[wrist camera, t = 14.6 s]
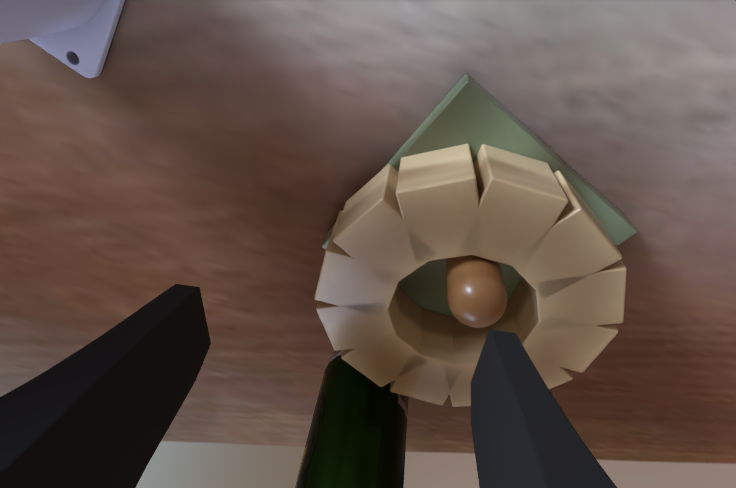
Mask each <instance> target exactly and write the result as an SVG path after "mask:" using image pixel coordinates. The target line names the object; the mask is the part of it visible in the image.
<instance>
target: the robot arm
mask: <svg viewBox="0 0 736 488" xmlns="http://www.w3.org/2000/svg"><path fill="white" fill-rule="evenodd" d="M124 2H125V0H0V44H4V43H9V42H14V41H18V40H23V39H29V40H30V41H32V42H33V43H35V44H36V45H38V46H39V47H41V48H42V49H44V50H45V51H47V52H48V53H50V54H51V55H53V56H54V57H56V58H57V59H58V60H60V61H61V62H63V63H64V64H66V65H67V66H69V67H70V68H72V69H73V70H75V71H76V72H78V73H79V74H81V75H82V76H84V77H86V78H93V77H96V76H99V75H100V73H101V72H102V69H103V66H104V62H105V59H106V56H107V53H108V50H109V47H110V44H111V41H112V38H113V35H114V32H115V29H116V26H117V23H118V20H119V17H120V14H121V11H122V8H123V5H124ZM73 52H74V53H75V54H76V55H77V56H78V58H79V62H78V61H77V60H76V59H75V58H74V56H73ZM210 344H211V342H210V337H209V332H208V327H207V322H206V317H205V312H204V308H203V303H202V298H201V293H200V288H199V287H193V286H187V285H180V284H175V285H174V286H172V287H171V288H169V289H168V290H166V291H165V292H163V293H162V294H161V295H159V296H158V297H156V298H155V299H153V300H152V301H151V302H149V303H148V304H146V305H145V306H143V307H142V308H141V309H139V310H138V311H136V312H135V313H134V314H132V315H131V316H129V317H128V318H126V319H125V320H123V321H122V322H121V323H119V324H118V325H116V326H115V327H113V328H112V329H110V330H109V331H107V332H106V333H105V334H103V335H102V336H100V337H99V338H97V339H96V340H94V341H93V342H91V343H90V344H88V345H86V346H85V347H83V348H82V349H80V350H79V351H77V352H75V353H74V354H72V355H71V356H69V357H68V358H66V359H64V360H63V361H61V362H60V363H58V364H56V365H55V366H53V367H52V368H50V369H49V370H47V371H45V372H44V373H42V374H40V375H39V376H37V377H35V378H34V379H32V380H30V381H28V382H27V383H25V384H23V385H21V386H20V387H18V388H16V389H14V390H13V391H11V392H9V393H7V394H5V395H3V396H2V397H0V488H135V487H136V485H137V483H138V481H139V479H140V478H141V476H142V474H143V472H144V470H145V468H146V466H147V464H148V463H149V461H150V459H151V457H152V456H153V454H154V452H155V450H156V448H157V447H158V445H159V443H160V442H161V440H162V438H163V437H164V435H165V433H166V431H167V430H168V428H169V426H170V424H171V423H172V421H173V419H174V417H175V416H176V414H177V412H178V410H179V409H180V407H181V405H182V403H183V402H184V400H185V398H186V396H187V395H188V393H189V391H190V389H191V387H192V386H193V384H194V382H195V380H196V378H197V375H198V373H199V371H200V368H201V366H202V364H203V361H204V359H205V356H206V354H207V351H208V349H209V346H210ZM471 425H472V433H473V441H474V448H475V456H476V463H477V471H478V478H479V485H480V488H617V487H616V486H615V484H614V483H613V482H612V480H611V479H610V478H609V476H608V475H607V474H606V472H605V471H604V470H603V469H602V467H601V466H600V464H599V463H598V462H597V460H596V459H595V457H594V456H593V455H592V453H591V452H590V450H589V449H588V448H587V446H586V445H585V443H584V442H583V441H582V439H581V438H580V436H579V435H578V433H577V432H576V430H575V429H574V428H573V426H572V425H571V423H570V422H569V420H568V418H567V417H566V415H565V414H564V412H563V411H562V409H561V408H560V406H559V405H558V403H557V402H556V400H555V398H554V397H553V395H552V394H551V392H550V390H549V389H548V387H547V386H546V384H545V382H544V381H543V379H542V377H541V376H540V374H539V372H538V371H537V369H536V367H535V366H534V364H533V362H532V360H531V359H530V357H529V355H528V353H527V352H526V350H525V348H524V346H523V345H522V343H521V341H520V339H519V338H518V336H517V335H516V334H515V333H513V332H506V331H499V330H492V329H489V331H488V334H487V337H486V340H485V343H484V345H483V348H482V351H481V354H480V357H479V360H478V363H477V366H476V368H475V371H474V374H473V377H472V380H471Z"/></svg>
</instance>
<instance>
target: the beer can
mask: <svg viewBox="0 0 736 488" xmlns="http://www.w3.org/2000/svg"><path fill="white" fill-rule="evenodd" d="M342 351H343V350H342ZM342 351H340V352H339V353H338V354H337V355H335V357H334V358H333V359H332V360H331V361H330V362H329V364H328V365H327V367H326V369H325V372H324V376H323V380H322V384H321V388H320V392H319V396H318V399H317V403H316V407H315V411H314V415H313V419H312V423H311V427H310V431H309V434H308V438H307V442H306V446H305V450H304V454H303V458H302V462H301V466H300V469H299V473H298V477H297V481H296V485H295V488H403V484H404V466H405V447H406V429H407V410H408V396H404V395H401V394H397V393H393V392H391V391H390V387H391V382H390V383H389V384H387V385H385V386H383V387H380V386H378V385H377V384H375V383H374V382H373V381H371V380H370V379H369V378H367V377H366V376H365V375H363V374H362V373H361V372H359V371H358V370H356V369H355V368H354V367H352V366H351V365H350V364H348V363H347V362H346V361H344V360H343V359H342V358H341V355H342Z"/></svg>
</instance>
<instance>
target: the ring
mask: <svg viewBox="0 0 736 488" xmlns="http://www.w3.org/2000/svg"><path fill="white" fill-rule="evenodd" d="M467 255H474V256H478V257H481V258H485V259H488V260H492V261H495V262H499V263H502V264H506V265H509V266H512V267H513V268H514V269H515V270H516V271H517V272H518V273H519V274H520V275H521V276H522V277H523V278H522V280H521V282H520V283H519V285H518V286H517V288H516V290H515V291H514V293H513V294H512V296H511V298H510V299H508V300H507V306H506V309H505V312H504V314H503V315H502V317H501V318H500V319H499V320H498V321H497V322H495V323H494V324H492V325H490V326H487V327H482V328H474V327H470V326H467V325H464V324H463V323H461V322H460V321H458V320H457V319H456V318H455V317H454V316H453V317H451V316H447V315H443V314H440V313H436V312H433V311H429V310H425V309H422V308H421V307H420V306H419V305H417V304H416V303H415V302H414V301H413V300H412V299H410V298H409V297H408V296H407V295H406V294H405V293H404V292H402V291H401V289H400V285H399V281H400V280H402V279H403V278H405V277H406V276H408V275H409V274H411V273H412V272H414V271H415V270H416V269H418V268H419V267H421V266H422V265H424V264H425V263H427V262H428V261H433V260H440V259H447V258H453V257H460V256H467ZM621 259H622V255H621V253H620V252H619V250H618V249H617V247H616V245H615V244H614V242H613V241H612V239H611V238H610V236H609V234H608V233H607V231H606V230H605V228H604V227H603V225H602V223H601V222H600V220H599V219H598V217H597V215H596V214H595V213H594V211H593V210H592V209H591V208H590V207H589V205H588V204H587V203H586V202H585V201H584V199H583V198H582V197H581V196H580V194H579V193H578V192H577V191H576V190H575V188H574V187H573V186H572V185H571V184H570V182H569V181H568V180H567V179H566V178H565V176H564V175H563V174H562V173H561V171H556V172H555V173H553V172H552V170H551V168H550V166H549V164H548V163H546V162H543V161H539V160H536V159H532V158H529V157H526V156H522V155H519V154H516V153H512V152H509V151H505V150H502V149H499V148H495V147H492V146H488V145H485V144H483V145H482V146H481V148H480V150H479V152H478V154H477V157H476V159H475V161H474V164H473V161H472V155H471V150H470V145H469V144H463V145H458V146H453V147H448V148H444V149H439V150H434V151H430V152H425V153H420V154H416V155H411V156H406V157H402V158H401V161H400V168H399V172H398V171H397V170H396V169H395V168H394V167H393V166H392V165H391V164H388V165H387V166H386V167H385V168H383V169H382V170H381V171H380V172H379V173H378V174H377V175H376V176H374V177H373V178H372V179H371V180H370V181H369V182H368V183H366V184H365V185H364V186H363V187H362V188H361V189H360V190H359V191H357V192H356V193H355V194H354V195H353V196H352V197H351V198H349V199H348V200H347V201H346V203H345V206H344V209H343V211H340V212H339V215H338V217H337V220H336V223H335V226H334V229H333V231H332V234H331V237H330V240H329V242H328V245H327V248H326V251H325V255H324V259H323V263H322V268H321V272H320V276H319V280H318V284H317V288H316V292H315V296H314V299H315V300H318V302H317V305H316V311H317V313H318V315H319V317H320V319H321V322H322V324H323V326H324V328H325V330H326V333H327V335H328V337H329V339H330V341H331V344H332V346H333V348H334V350H335V351H338V350H343V351H342V355H341V358H342V359H343V360H344V361H346V362H347V363H348V364H350V365H351V366H352V367H354V368H355V369H356V370H358V371H359V372H361V373H362V374H363V375H365V376H366V377H367V378H369V379H370V380H371V381H373V382H374V383H375V384H377V385H378V386H380V387H383V386H385V385H387V384H389V383H390V382H391V387H390V391H391V392H393V393H397V394H401V395H404V396H408V397H412V398H415V399H419V400H423V401H427V402H430V403H434V404H438V405H443V404H444V402H445V400H446V399H447V397H448V396H449V395H450V398H451V402H452V406H453V407H461V406H471V380H472V377H473V374H474V371H475V368H476V366H477V363H478V360H479V357H480V354H481V351H482V348H483V345H484V343H485V340H486V337H487V334H488V331H489V329H492V330H499V331H506V332H513V333H515V334H516V335H517V336H518V338H519V339H520V341H521V343H522V345H523V346H524V348H525V350H526V352H527V353H528V355H529V357H530V359H531V360H532V362H533V364H534V366H535V367H536V369H537V371H538V372H539V374H540V376H541V377H542V379H543V381H544V382H545V384H546V386H547V387H548V389H551V388H553V387H556V386H558V385H560V384H563V383H565V382H568V381H570V380H572V379H573V377H572V374H571V371H570V370H574V371H577V372H581V373H582V372H584V371H585V370H586V368H587V367H588V366H589V365H590V364H591V363H592V362H593V361H594V359H595V358H596V357H597V356H598V355H599V354H600V353H601V352H602V350H603V349H604V348H605V347H606V346H607V345H608V344H609V343H610V341H611V340H612V339H613V338H614V337H615V336H616V335H617V334H618V330H617V328H616V326H615V324H617V323H623V320H624V305H625V289H626V273H627V269H626V267H625V265H624V264H623V262H622V261H621Z"/></svg>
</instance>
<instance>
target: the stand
mask: <svg viewBox="0 0 736 488" xmlns="http://www.w3.org/2000/svg"><path fill="white" fill-rule="evenodd" d="M463 144H469V145H470V150H471V155H472V161H473V164H474V161H475V159H476V157H477V154H478V152H479V150H480V148H481V146H482V145H483V144H485V145H488V146H492V147H495V148H499V149H502V150H505V151H509V152H512V153H516V154H519V155H522V156H526V157H529V158H532V159H536V160H539V161H543V162H546V163H548V164H549V166H550V168H551V170H552V172H553V173H555V172H556V171H561V173H562V174H563V175H564V176H565V178H566V179H567V180H568V181H569V182H570V184H571V185H572V186H573V187H574V188H575V190H576V191H577V192H578V193H579V194H580V196H581V197H582V198H583V199H584V201H585V202H586V203H587V204H588V205H589V207H590V208H591V209H592V210H593V211H594V213H595V214H596V215H597V217H598V219H599V220H600V222H601V223H602V225H603V227H604V228H605V230H606V231H607V233H608V234H609V236H610V238H611V239H612V241H613V242H614V244H615V245H616V247H617V246H618V245H620V244H621V243H623V242H624V241H626V240H627V239H629V238H630V237H632V236H633V235H634V234H636V233H637V230H636V229H635V227H634V226H633V225H632V223H631V222H630V221H629V219H628V218H627V217H626V216H625V215H624V214H622V213H621V212H620V211H619V210H618V209H617V208H616V207H615V206H614V205H612V204H611V203H610V202H609V201H608V200H607V199H606V198H605V197H604V196H602V195H601V194H600V193H599V192H598V191H597V190H596V189H595V188H594V187H592V186H591V185H590V184H589V183H588V182H587V181H586V180H585V179H584V178H582V177H581V176H580V175H579V174H578V173H577V172H576V171H575V170H574V169H572V168H571V167H570V166H569V165H568V164H567V163H566V162H565V161H564V160H562V159H561V158H560V157H559V156H558V155H557V154H556V153H555V152H554V151H552V150H551V149H550V148H549V147H548V146H547V145H546V144H545V143H544V142H542V141H541V140H540V139H539V138H538V137H537V136H536V135H535V134H534V133H532V132H531V131H530V130H529V129H528V128H527V127H526V126H525V125H524V124H522V123H521V122H520V121H519V120H518V119H517V118H516V117H515V116H514V115H513V114H511V113H510V112H509V111H508V110H507V109H506V108H505V107H504V106H503V105H501V104H500V103H499V102H498V101H497V100H496V99H495V98H494V97H493V96H491V95H490V94H489V93H488V92H487V91H486V90H485V89H484V88H483V87H481V86H480V85H479V84H478V83H477V82H476V81H475V80H474V79H473V78H471V77H470V76H469V75H468V74H465V75H464V76H463V77H462V78H461V79H460V80H459V82H458V83H457V84H456V85H455V86H454V87H453V88H452V90H451V91H450V92H449V93H448V94H447V95H446V96H445V98H444V99H443V100H442V101H441V102H440V103H439V105H438V106H437V107H436V108H435V109H434V110H433V111H432V113H431V114H430V115H429V116H428V117H427V118H426V119H425V121H424V122H423V123H422V124H421V125H420V126H419V127H418V129H417V130H416V131H415V132H414V133H413V134H412V136H411V137H410V138H409V139H408V140H407V141H406V142H405V144H404V145H403V146H402V147H401V148H400V149H399V150H398V152H397V153H396V154H395V155H394V156H393V157H392V158H391V160H390V161H389V162H388V163H387V164H386V165H385V167H386V166H387V165H388V164H391V165H392V166H393V167H394V168H395V169H396V170H397V171H398V172H399V168H400V161H401V158H402V157H406V156H411V155H416V154H420V153H425V152H430V151H434V150H439V149H444V148H448V147H453V146H458V145H463ZM385 167H384V168H385ZM334 226H335V224H334V225H333V226H332V227H331V229H330V230H329V231H328V232H327V233H326V236H325V238H324V241H323V243H322V247H323V248H325V249H326V248H327V245H328V242H329V240H330V237H331V234H332V231H333V229H334ZM522 278H523V277H522V276H521V275H520V274H519V273H518V272H517V271H516V270H515V269H514V268H513V267H512V266H509V265H506V264H502V263H499V262H495V261H492V260H488V259H485V258H481V257H478V256H474V255H467V256H460V257H453V258H447V259H440V260H433V261H428V262H427V263H425V264H424V265H422V266H421V267H419V268H418V269H416V270H415V271H414V272H412V273H411V274H409V275H408V276H406V277H405V278H403V279H402V280H400V281H399V285H400V289H401V291H402V292H404V293H405V294H406V295H407V296H408V297H409V298H410V299H412V300H413V301H414V302H415V303H416V304H417V305H419V306H420V307H421V308H422V309H425V310H429V311H433V312H436V313H440V314H443V315H447V316H451V317H453V316H454V317H455V318H456V319H457V320H458V321H460V322H461V323H463V324H464V325H467V326H470V327H474V328H482V327H487V326H490V325H492V324H494V323H495V322H497V321H498V320H499V319H500V318H501V317H502V315H503V314H504V312H505V309H506V306H507V300H508V299H510V298H511V296H512V294H513V293H514V291H515V290H516V288H517V286H518V285H519V283H520V282H521V280H522Z"/></svg>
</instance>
